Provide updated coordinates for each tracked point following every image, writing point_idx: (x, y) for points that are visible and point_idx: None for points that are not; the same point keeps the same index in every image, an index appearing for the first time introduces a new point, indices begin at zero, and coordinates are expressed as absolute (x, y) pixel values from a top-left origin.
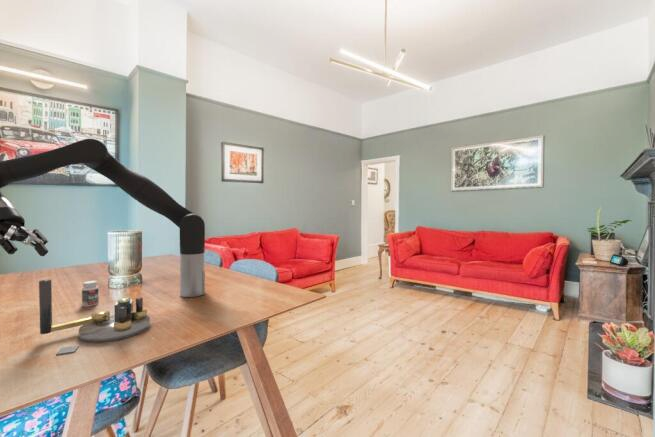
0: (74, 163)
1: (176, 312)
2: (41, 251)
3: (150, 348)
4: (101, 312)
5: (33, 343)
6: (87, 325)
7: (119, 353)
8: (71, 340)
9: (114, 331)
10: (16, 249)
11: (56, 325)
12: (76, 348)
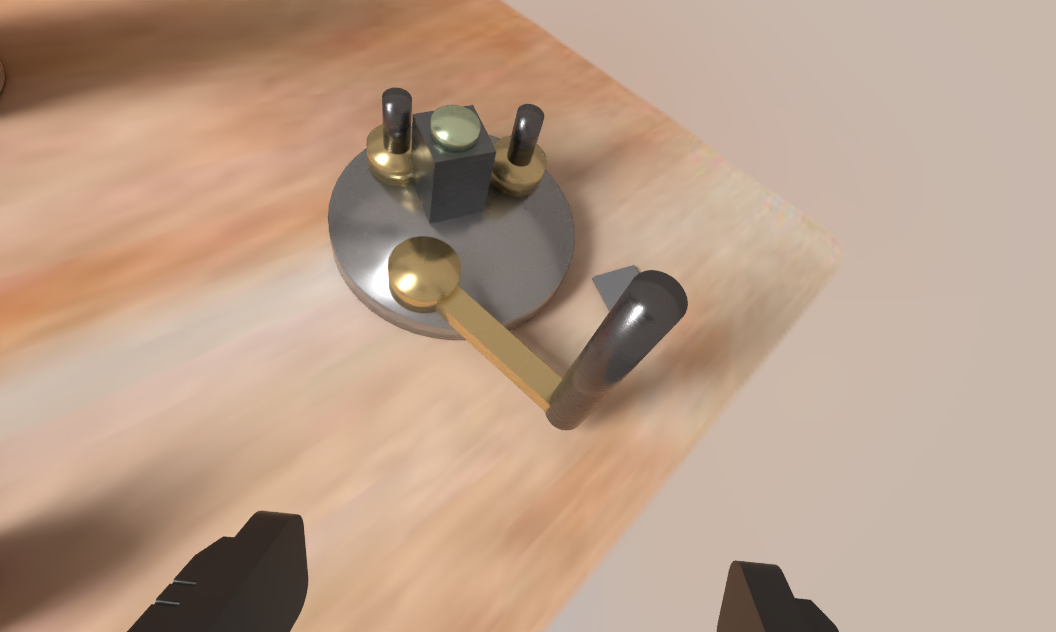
0: None
1: (268, 100)
2: (277, 600)
3: (590, 102)
4: (416, 267)
5: (579, 454)
6: None
7: (624, 158)
8: (548, 333)
9: (537, 190)
10: (747, 563)
11: (541, 382)
12: (616, 271)
